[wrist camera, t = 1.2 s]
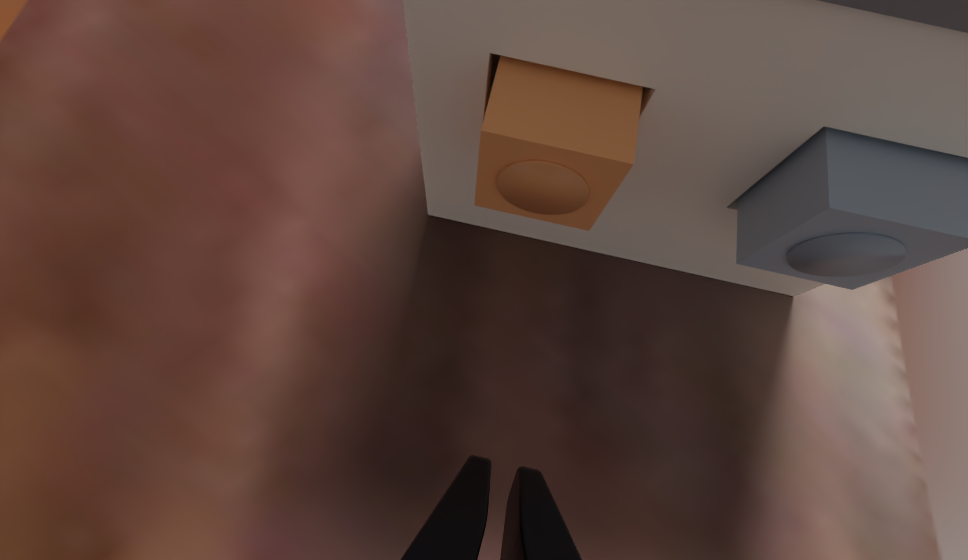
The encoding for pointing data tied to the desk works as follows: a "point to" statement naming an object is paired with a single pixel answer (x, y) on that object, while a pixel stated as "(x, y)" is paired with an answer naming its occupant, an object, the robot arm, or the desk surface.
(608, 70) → the control box
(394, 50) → the desk surface
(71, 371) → the desk surface
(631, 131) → the orange button
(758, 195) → the slate button
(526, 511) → the robot arm
